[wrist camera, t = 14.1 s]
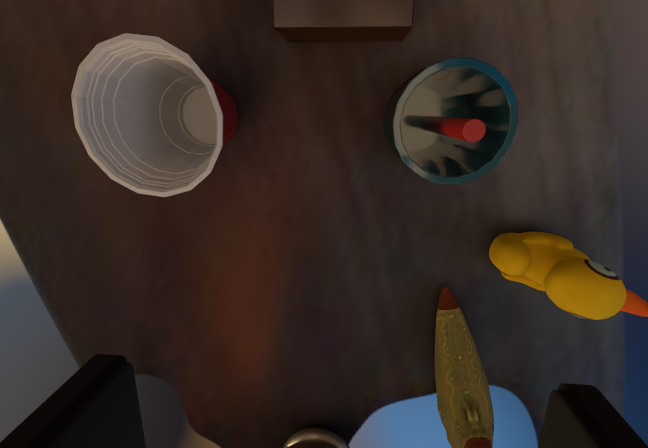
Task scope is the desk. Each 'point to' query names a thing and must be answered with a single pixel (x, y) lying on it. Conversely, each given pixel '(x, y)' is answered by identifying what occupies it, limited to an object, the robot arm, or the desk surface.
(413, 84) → the tumbler
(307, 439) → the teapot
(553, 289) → the duckling
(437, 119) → the straw
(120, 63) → the plastic cup
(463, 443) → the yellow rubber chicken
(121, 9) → the desk surface
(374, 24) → the straw stand
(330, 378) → the desk surface
